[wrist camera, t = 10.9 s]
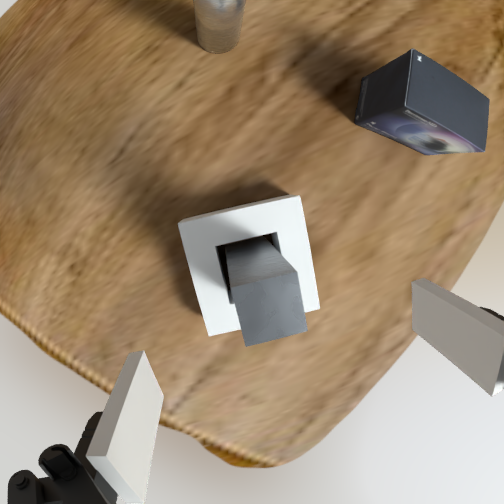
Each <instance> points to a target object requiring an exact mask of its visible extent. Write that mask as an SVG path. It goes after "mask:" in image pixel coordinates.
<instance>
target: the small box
mask: <svg viewBox="0 0 504 504" xmlns="http://www.w3.org/2000/svg"><path fill="white" fill-rule="evenodd" d="M361 84H362V85H361V91H360V95H359V101H358V106H357V108H356V115H355V124H356V125H358V126H361V127H364V128H366V129H368V130H371V131H373V132H376V133H378V134H380V135H383V136H385V137H387V138H390V139H392V140H394V141H396V142H399V143H401V144H403V145H405V146H407V147H410V148H412V149H414V150H416V151H418V152H420V153H422V154H424V155H437V154H450V153H469V152H485V147H486V139H487V128H488V115H489V99H488V98H487V97H486V96H484V95H483V94H482V93H481V92H479V91H478V90H477V89H475V88H474V87H472V86H471V85H470V84H468V83H467V82H466V81H464V80H463V79H461V78H460V77H458V76H457V75H455V74H454V73H452V72H451V71H449V70H448V69H446V68H445V67H443V66H442V65H440V64H438V63H437V62H435V61H433V60H432V59H430V58H429V57H427V56H425V55H423V54H422V53H420V52H418V51H417V50H415V49H410V50H409V51H408V52H406V53H405V54H403V55H401V56H400V57H398V58H396V59H395V60H393V61H391V62H389V63H388V64H386V65H384V66H383V67H381V68H379V69H378V70H376V71H375V72H373V73H371V74H369V75H367V76H365V77H364V78H362V83H361Z"/></svg>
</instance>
